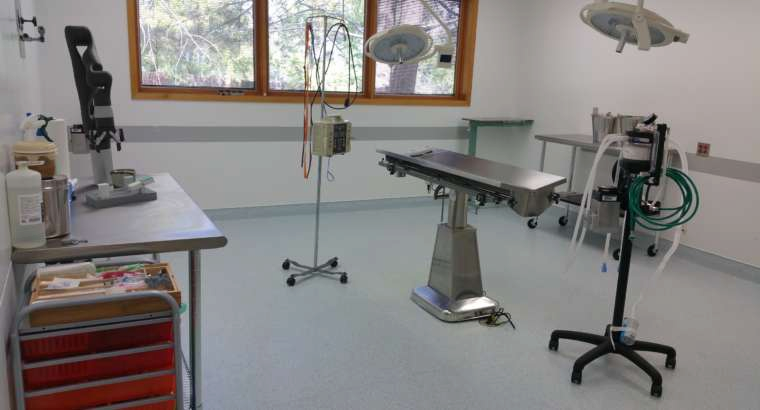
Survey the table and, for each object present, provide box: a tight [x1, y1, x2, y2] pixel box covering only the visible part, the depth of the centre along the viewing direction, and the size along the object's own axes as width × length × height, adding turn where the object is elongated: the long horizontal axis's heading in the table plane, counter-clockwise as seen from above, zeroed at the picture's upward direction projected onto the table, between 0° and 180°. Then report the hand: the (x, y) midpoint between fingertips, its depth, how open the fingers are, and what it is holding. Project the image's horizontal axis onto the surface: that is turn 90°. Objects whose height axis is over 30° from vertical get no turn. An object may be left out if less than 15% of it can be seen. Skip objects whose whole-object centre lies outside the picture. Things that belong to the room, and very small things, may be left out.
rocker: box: [127, 175, 156, 191], centre depth 231 cm, size 5×10×2 cm, turn 133°
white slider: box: [96, 183, 110, 198], centre depth 222 cm, size 3×3×6 cm
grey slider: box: [123, 176, 134, 190], centre depth 237 cm, size 3×3×6 cm
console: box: [85, 186, 158, 209], centre depth 231 cm, size 15×24×6 cm, turn 133°
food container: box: [109, 168, 138, 191], centre depth 247 cm, size 12×6×10 cm, turn 84°
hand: (108, 152), depth 248 cm, fingers open, 8 cm apart
